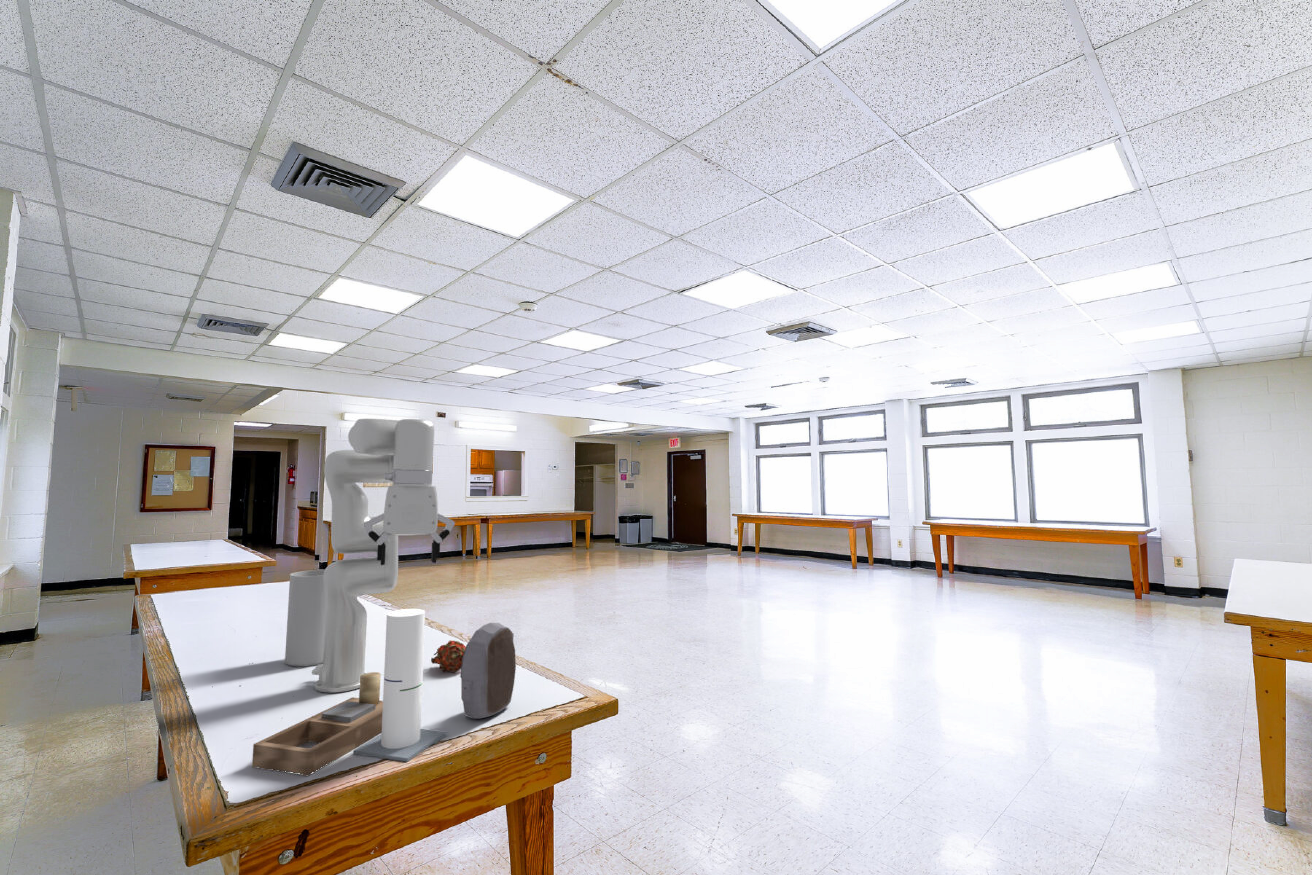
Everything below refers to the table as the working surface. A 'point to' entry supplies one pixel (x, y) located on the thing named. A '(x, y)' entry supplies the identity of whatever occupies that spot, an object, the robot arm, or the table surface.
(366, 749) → the mat
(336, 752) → the wooden divided tray
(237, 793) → the table surface
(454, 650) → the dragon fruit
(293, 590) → the cylinder vase
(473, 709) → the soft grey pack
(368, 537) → the robot arm
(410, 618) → the cylindrical container
